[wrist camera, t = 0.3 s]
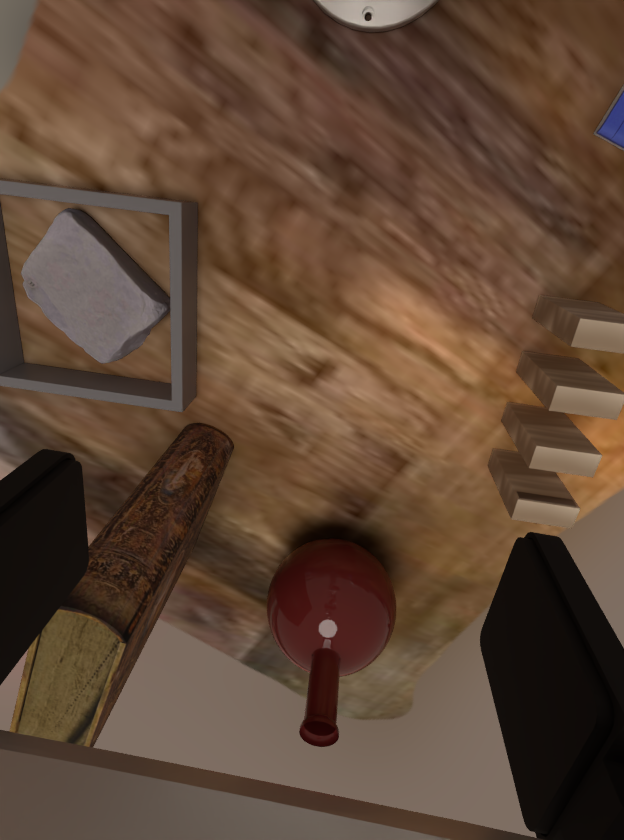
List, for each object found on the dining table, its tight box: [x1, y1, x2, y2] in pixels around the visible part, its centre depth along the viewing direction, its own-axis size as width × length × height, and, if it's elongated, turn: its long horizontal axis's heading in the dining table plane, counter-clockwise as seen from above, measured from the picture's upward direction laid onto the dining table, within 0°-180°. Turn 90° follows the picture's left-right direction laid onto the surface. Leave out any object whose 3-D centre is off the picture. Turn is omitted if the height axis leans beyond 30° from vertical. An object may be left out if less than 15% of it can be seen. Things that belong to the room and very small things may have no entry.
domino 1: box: [532, 295, 624, 353], centre depth 38 cm, size 2×5×9 cm, turn 84°
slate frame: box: [0, 178, 198, 412], centre depth 44 cm, size 18×19×4 cm
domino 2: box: [516, 351, 624, 420], centre depth 40 cm, size 2×5×9 cm, turn 83°
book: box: [9, 423, 234, 748], centre depth 43 cm, size 16×6×25 cm, turn 157°
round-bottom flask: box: [267, 538, 396, 747], centre depth 47 cm, size 13×13×20 cm
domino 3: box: [501, 402, 602, 477], centre depth 42 cm, size 2×5×9 cm, turn 83°
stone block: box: [21, 208, 170, 363], centre depth 45 cm, size 12×5×10 cm
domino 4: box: [488, 448, 580, 528], centre depth 44 cm, size 2×5×9 cm, turn 83°
